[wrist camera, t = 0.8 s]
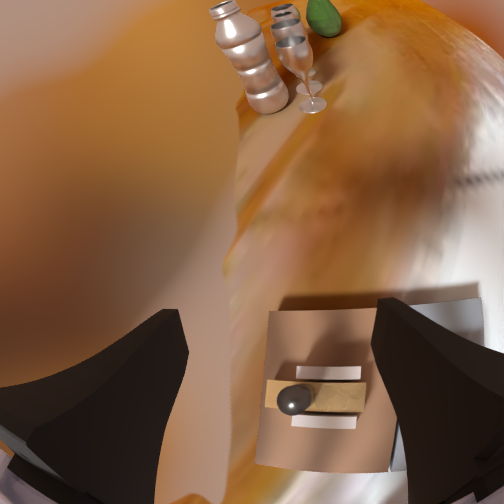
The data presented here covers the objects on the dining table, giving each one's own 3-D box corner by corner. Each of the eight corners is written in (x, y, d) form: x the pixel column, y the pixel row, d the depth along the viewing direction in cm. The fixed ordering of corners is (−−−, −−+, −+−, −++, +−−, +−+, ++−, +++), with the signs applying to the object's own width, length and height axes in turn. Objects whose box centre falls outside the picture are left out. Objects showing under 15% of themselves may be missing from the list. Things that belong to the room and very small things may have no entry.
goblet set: (333, 110, 35) (311, 33, 24) (296, 117, 37) (266, 44, 26) (310, 44, 47) (292, -4, 36) (286, 50, 49) (266, 3, 38)
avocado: (337, 28, 47) (325, -11, 37) (351, 37, 44) (338, -7, 33) (308, 35, 49) (293, -4, 39) (319, 44, 46) (303, 0, 36)
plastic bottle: (247, 112, 42) (190, 17, 26) (276, 91, 42) (229, -3, 25) (269, 124, 39) (210, 14, 22) (300, 101, 39) (254, -7, 22)
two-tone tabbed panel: (262, 457, 21) (244, 470, 17) (275, 315, 27) (260, 305, 23) (465, 452, 13) (481, 465, 10) (473, 302, 19) (491, 289, 15)
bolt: (271, 404, 21) (249, 411, 17) (273, 379, 22) (252, 380, 18) (363, 408, 18) (364, 419, 14) (365, 381, 19) (367, 385, 15)
